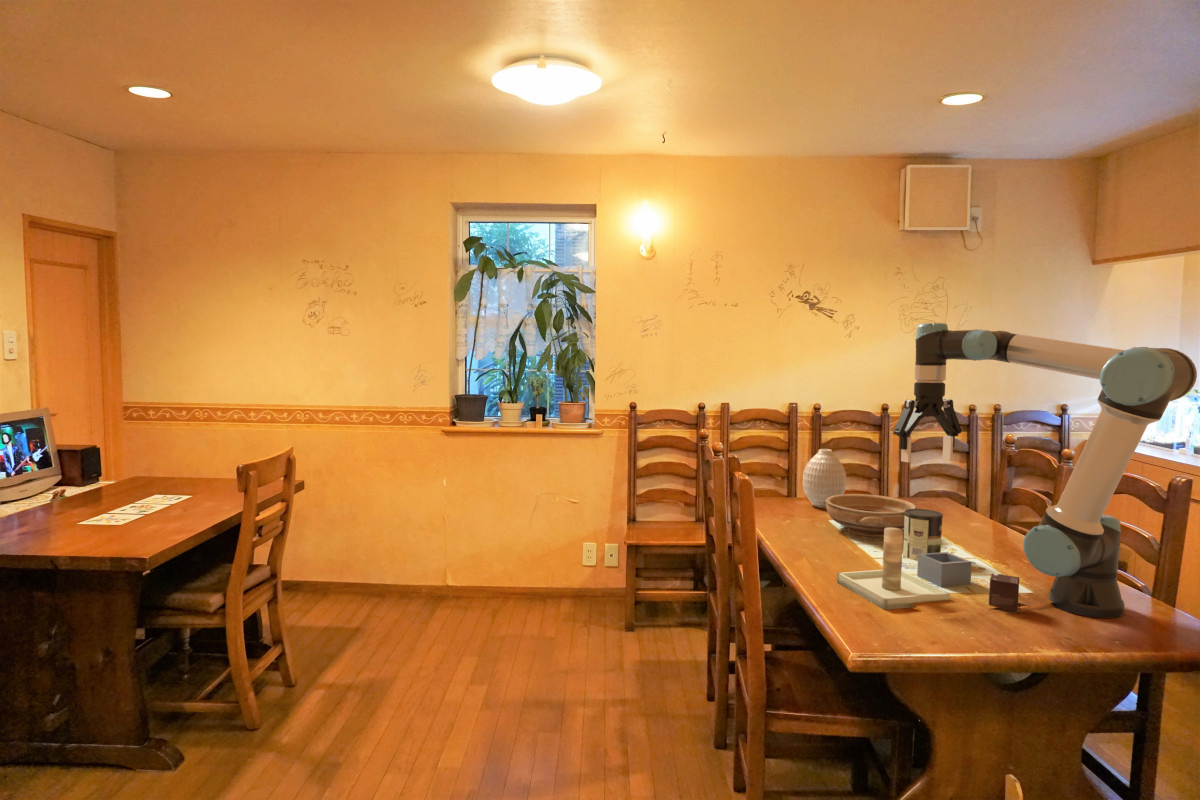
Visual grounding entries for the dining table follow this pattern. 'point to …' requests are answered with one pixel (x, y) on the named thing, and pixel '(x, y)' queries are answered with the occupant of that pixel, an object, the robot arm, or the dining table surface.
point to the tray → (872, 590)
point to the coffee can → (921, 532)
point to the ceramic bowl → (868, 513)
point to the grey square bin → (944, 569)
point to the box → (1004, 592)
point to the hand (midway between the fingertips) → (926, 460)
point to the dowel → (892, 559)
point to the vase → (823, 478)
